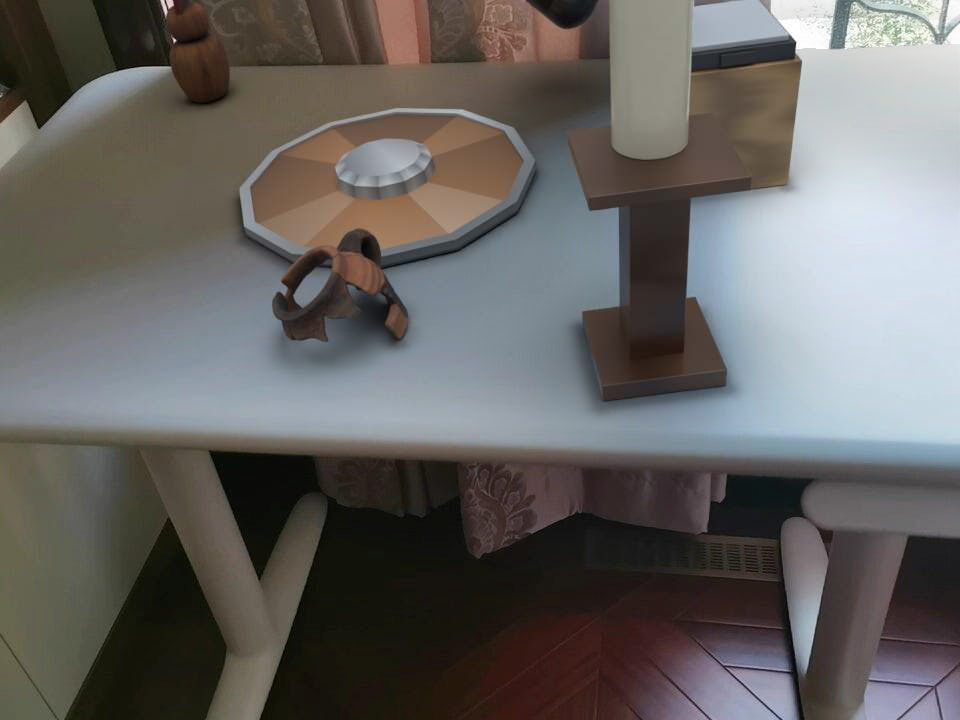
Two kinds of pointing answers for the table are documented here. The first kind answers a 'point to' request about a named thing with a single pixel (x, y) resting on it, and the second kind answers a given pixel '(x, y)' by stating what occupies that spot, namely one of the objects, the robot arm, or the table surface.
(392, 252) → the shield
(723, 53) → the scale
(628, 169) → the stand
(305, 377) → the table surface
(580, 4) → the robot arm
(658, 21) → the cream pillar candle
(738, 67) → the crate
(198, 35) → the wooden figurine
